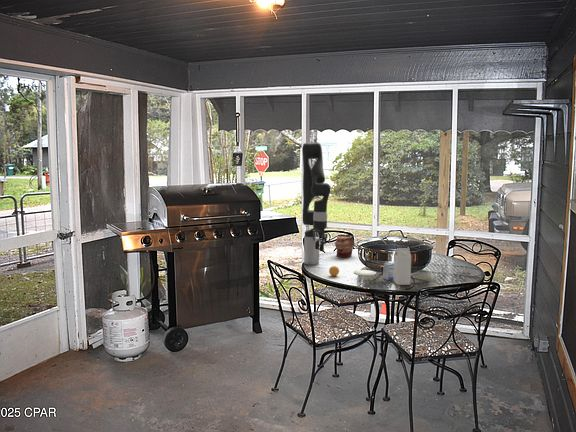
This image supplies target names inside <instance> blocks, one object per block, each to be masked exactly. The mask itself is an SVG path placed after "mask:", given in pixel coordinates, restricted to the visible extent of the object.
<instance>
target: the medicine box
mask: <svg viewBox="0 0 576 432" xmlns="http://www.w3.org/2000/svg"><path fill="white" fill-rule="evenodd" d="M382 267H383V269H382V279H383V280H386V281H393V274H394V262H385V263H383V266H382Z"/></svg>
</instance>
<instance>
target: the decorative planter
mask: <svg viewBox="0 0 576 432" xmlns="http://www.w3.org/2000/svg"><path fill="white" fill-rule="evenodd" d="M334 246H335V249H336V257H340V258H351V257H352V255H353V254H352V253H353V249H354V247H355V241H354V239H353V236H352V235H349V234H347V235H346V234H337V235H336V240H335V242H334Z"/></svg>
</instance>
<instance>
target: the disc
mask: <svg viewBox="0 0 576 432" xmlns="http://www.w3.org/2000/svg"><path fill="white" fill-rule="evenodd" d="M353 274H354V275H358V276H362V277H365V276H366V277H371V276H376V275H377V272H376V271H374V270H367V269H356V270H354V271H353ZM375 274H376V275H375Z"/></svg>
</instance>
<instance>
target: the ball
mask: <svg viewBox="0 0 576 432" xmlns="http://www.w3.org/2000/svg"><path fill="white" fill-rule="evenodd" d="M328 271H329V272H328V273H329V274H330V275H331V276H332V277H336V276H338V275H339V273H340V269H339V267H337V266H336V265H332V266H330V267H329V270H328Z"/></svg>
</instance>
